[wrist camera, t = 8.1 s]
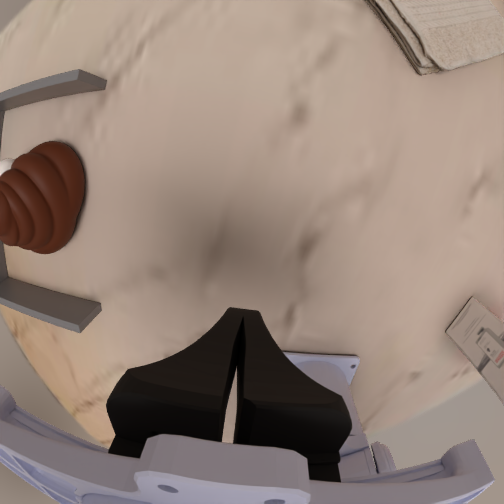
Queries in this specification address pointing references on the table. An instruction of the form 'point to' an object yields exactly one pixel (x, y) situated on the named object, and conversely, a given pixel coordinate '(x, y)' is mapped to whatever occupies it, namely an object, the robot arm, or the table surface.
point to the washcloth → (443, 31)
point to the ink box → (481, 342)
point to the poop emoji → (40, 197)
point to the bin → (3, 288)
